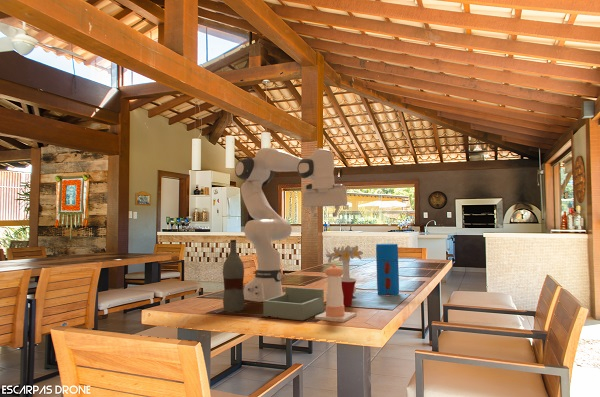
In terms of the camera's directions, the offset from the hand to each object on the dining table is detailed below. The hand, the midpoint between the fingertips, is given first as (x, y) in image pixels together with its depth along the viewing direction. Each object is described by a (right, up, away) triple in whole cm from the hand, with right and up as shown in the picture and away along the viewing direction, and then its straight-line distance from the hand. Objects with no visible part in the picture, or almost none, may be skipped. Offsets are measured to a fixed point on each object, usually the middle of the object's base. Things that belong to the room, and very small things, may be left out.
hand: (325, 217), depth 187 cm
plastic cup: (+9, -39, +2) cm, 40 cm away
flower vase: (+11, -41, +25) cm, 49 cm away
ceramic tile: (+3, -38, -20) cm, 43 cm away
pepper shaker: (+3, -37, -20) cm, 42 cm away
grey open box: (-13, -39, -13) cm, 43 cm away
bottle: (-39, -40, -4) cm, 56 cm away
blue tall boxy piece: (+34, -40, +30) cm, 60 cm away
